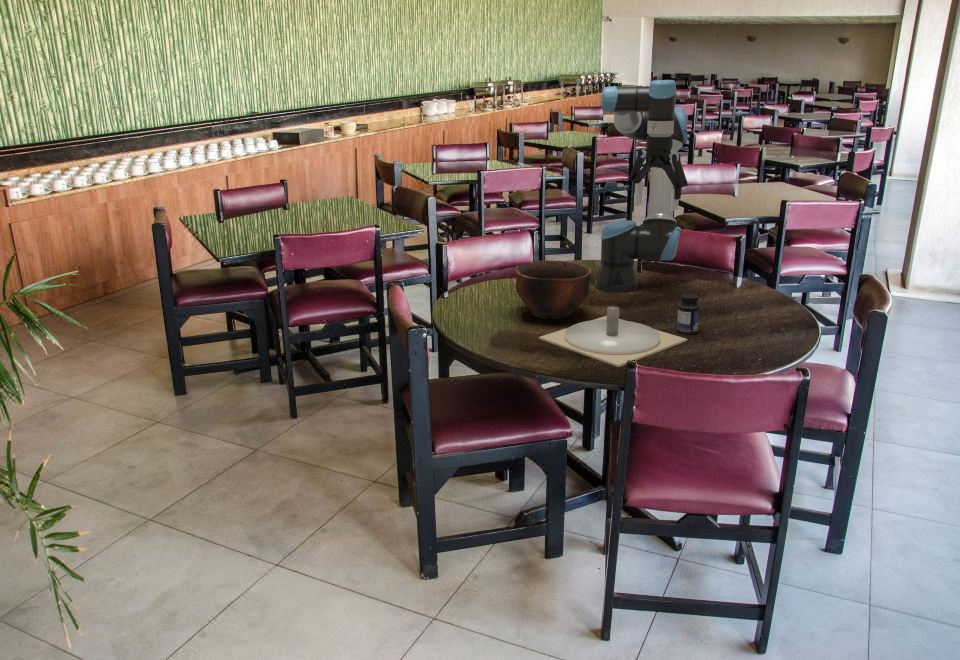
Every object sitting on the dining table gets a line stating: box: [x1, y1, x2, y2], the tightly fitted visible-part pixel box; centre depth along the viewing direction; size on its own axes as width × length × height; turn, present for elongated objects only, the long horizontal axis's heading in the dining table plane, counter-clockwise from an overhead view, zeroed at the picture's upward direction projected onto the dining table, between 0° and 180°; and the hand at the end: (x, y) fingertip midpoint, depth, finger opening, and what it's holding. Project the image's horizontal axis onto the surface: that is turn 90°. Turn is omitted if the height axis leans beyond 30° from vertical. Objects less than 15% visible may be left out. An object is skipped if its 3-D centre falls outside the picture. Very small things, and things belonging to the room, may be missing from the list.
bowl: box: [514, 260, 593, 320], centre depth 242 cm, size 25×25×15 cm
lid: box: [565, 305, 660, 355], centre depth 219 cm, size 27×27×9 cm
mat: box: [538, 315, 688, 368], centre depth 221 cm, size 30×30×1 cm
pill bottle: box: [676, 293, 700, 335], centre depth 225 cm, size 6×6×11 cm
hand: (655, 207), depth 232 cm, fingers open, 13 cm apart
